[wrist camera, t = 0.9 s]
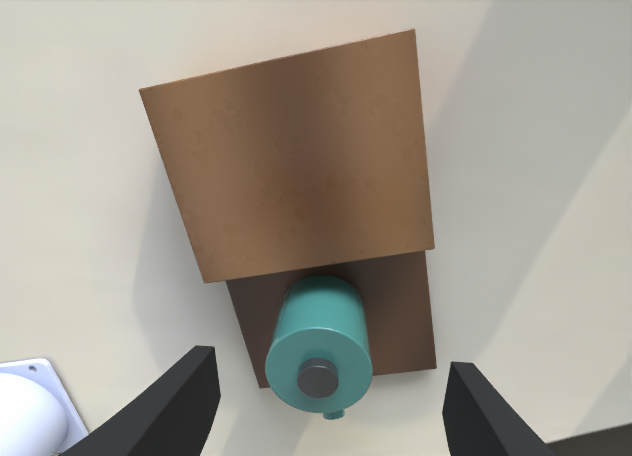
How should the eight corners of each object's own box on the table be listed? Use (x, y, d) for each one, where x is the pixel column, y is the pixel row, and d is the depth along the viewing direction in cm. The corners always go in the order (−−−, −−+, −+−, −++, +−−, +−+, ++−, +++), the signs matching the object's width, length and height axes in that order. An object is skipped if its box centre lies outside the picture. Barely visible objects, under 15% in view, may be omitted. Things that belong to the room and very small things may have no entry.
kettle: (271, 280, 20) (249, 344, 15) (358, 268, 20) (365, 329, 14) (296, 374, 22) (284, 457, 17) (374, 365, 22) (386, 448, 17)
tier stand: (261, 379, 24) (250, 421, 21) (171, 89, 18) (137, 89, 15) (433, 359, 22) (448, 401, 19) (400, 38, 16) (414, 27, 13)
